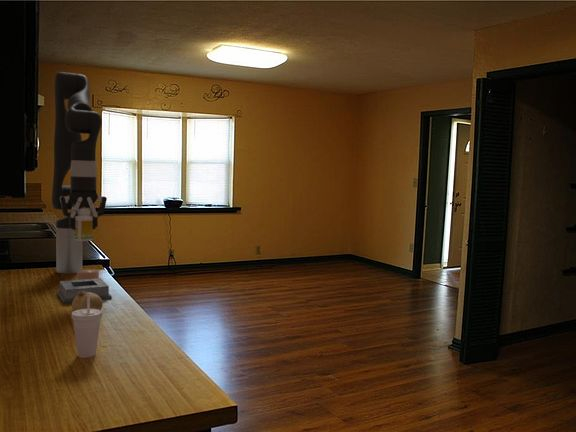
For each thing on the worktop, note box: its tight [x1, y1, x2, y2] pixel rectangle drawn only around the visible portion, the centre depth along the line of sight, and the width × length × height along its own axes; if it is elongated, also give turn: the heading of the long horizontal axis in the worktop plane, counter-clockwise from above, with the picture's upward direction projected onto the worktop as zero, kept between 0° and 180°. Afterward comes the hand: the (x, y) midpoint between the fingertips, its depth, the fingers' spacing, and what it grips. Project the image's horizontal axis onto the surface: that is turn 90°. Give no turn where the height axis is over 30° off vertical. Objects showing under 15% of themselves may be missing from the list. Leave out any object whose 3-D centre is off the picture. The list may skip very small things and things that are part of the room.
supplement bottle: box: [74, 208, 94, 242], centre depth 165 cm, size 5×5×10 cm
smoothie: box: [71, 293, 103, 359], centre depth 116 cm, size 6×6×14 cm
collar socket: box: [56, 277, 113, 305], centre depth 167 cm, size 14×14×4 cm
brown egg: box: [76, 268, 100, 280], centre depth 182 cm, size 7×7×5 cm
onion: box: [71, 291, 104, 312], centre depth 146 cm, size 8×8×7 cm
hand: (83, 229), depth 165 cm, fingers closed on supplement bottle, 5 cm apart
